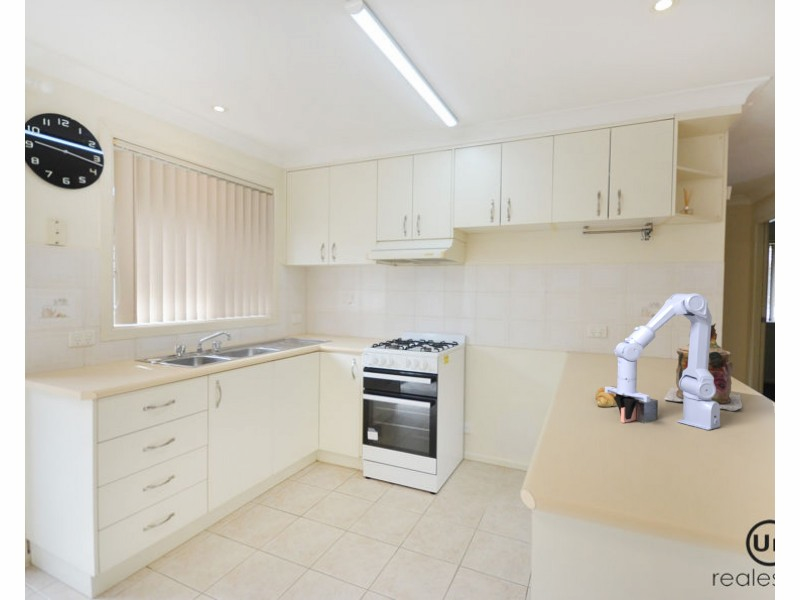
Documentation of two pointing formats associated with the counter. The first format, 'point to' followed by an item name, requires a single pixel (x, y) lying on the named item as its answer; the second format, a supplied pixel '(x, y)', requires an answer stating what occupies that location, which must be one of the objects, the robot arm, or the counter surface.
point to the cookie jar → (718, 370)
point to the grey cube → (647, 410)
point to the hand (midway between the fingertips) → (625, 418)
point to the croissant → (605, 398)
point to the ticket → (634, 417)
